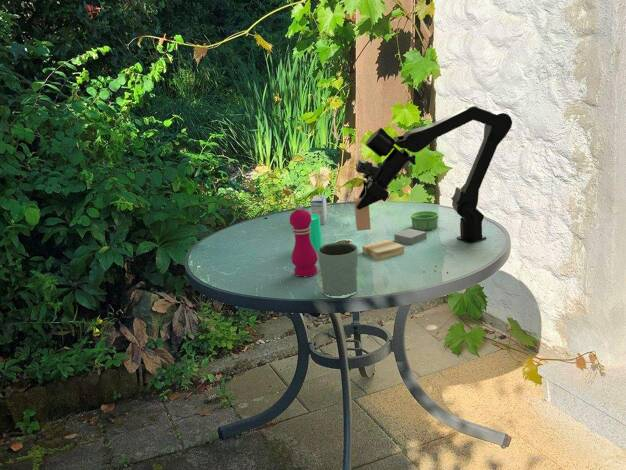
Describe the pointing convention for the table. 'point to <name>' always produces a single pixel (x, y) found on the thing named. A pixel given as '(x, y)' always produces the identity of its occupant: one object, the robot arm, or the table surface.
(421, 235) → the slate block
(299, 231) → the pepper mill
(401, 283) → the table surface
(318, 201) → the medicine box
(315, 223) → the candle
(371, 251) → the oak block
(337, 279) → the plant pot
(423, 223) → the ramekin
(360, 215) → the terracotta block
